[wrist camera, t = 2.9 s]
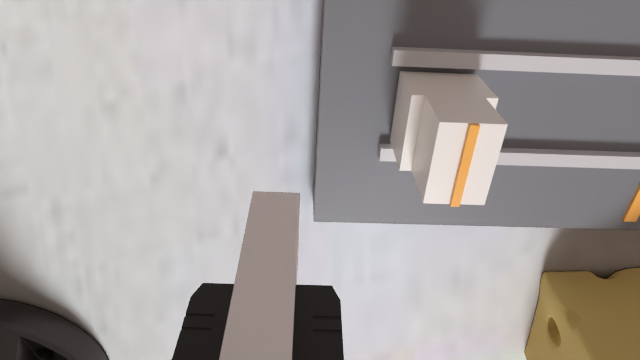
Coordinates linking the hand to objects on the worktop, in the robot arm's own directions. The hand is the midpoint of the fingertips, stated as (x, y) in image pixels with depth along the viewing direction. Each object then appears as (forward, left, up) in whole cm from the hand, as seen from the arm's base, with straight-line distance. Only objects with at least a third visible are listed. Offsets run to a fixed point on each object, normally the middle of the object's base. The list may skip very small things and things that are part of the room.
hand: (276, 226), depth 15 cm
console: (+16, 0, -13) cm, 20 cm away
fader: (+8, 0, -11) cm, 13 cm away
